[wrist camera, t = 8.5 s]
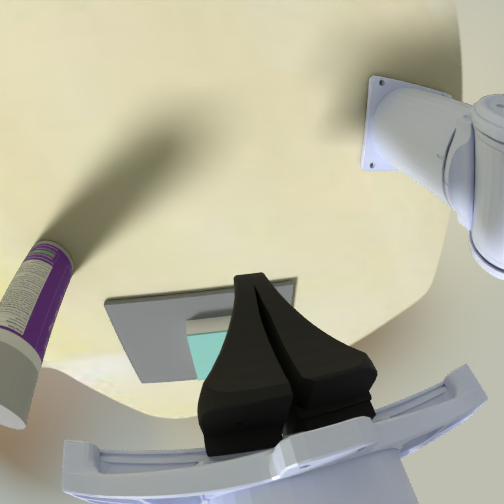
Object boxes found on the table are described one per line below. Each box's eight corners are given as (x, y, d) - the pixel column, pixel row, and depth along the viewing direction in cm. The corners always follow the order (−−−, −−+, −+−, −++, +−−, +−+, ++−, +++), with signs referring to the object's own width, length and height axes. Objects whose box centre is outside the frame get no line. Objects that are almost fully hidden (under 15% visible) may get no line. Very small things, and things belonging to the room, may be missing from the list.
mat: (291, 280, 29) (293, 284, 28) (281, 363, 37) (282, 367, 36) (104, 300, 26) (103, 305, 25) (141, 379, 34) (141, 383, 33)
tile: (255, 327, 28) (186, 336, 27) (254, 372, 32) (198, 380, 31) (251, 312, 29) (186, 320, 28) (251, 359, 34) (196, 366, 33)
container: (75, 286, 24) (36, 436, 12) (33, 278, 23) (-20, 417, 11) (73, 244, 22) (13, 405, 10) (27, 236, 20) (-49, 380, 8)
